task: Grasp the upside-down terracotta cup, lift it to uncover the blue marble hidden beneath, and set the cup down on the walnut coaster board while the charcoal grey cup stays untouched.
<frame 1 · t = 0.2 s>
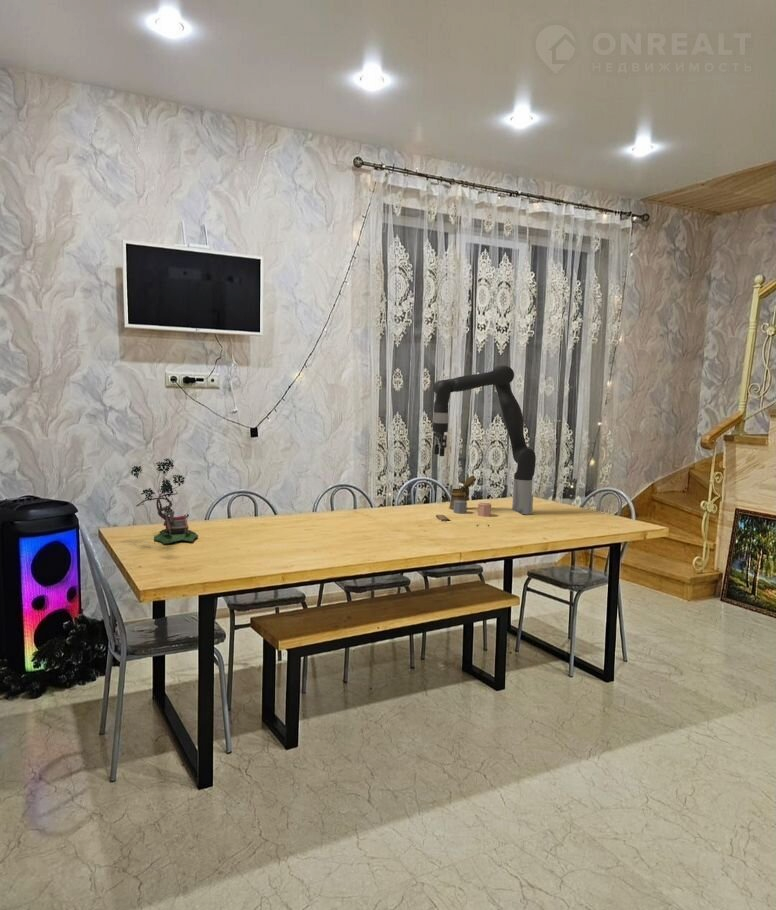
hand: (439, 455, 343), 29 cm above the table, tool pointing down, fingers open, 8 cm apart
charcoal cup: (459, 515, 343), on the table
walnut coaster: (448, 519, 333), on the table
terracotta cup: (484, 518, 338), on the table
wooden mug: (461, 511, 355), on the table
bonsai tree: (168, 542, 269), on the table
blue marble: (484, 515, 338), point 1 cm above the table
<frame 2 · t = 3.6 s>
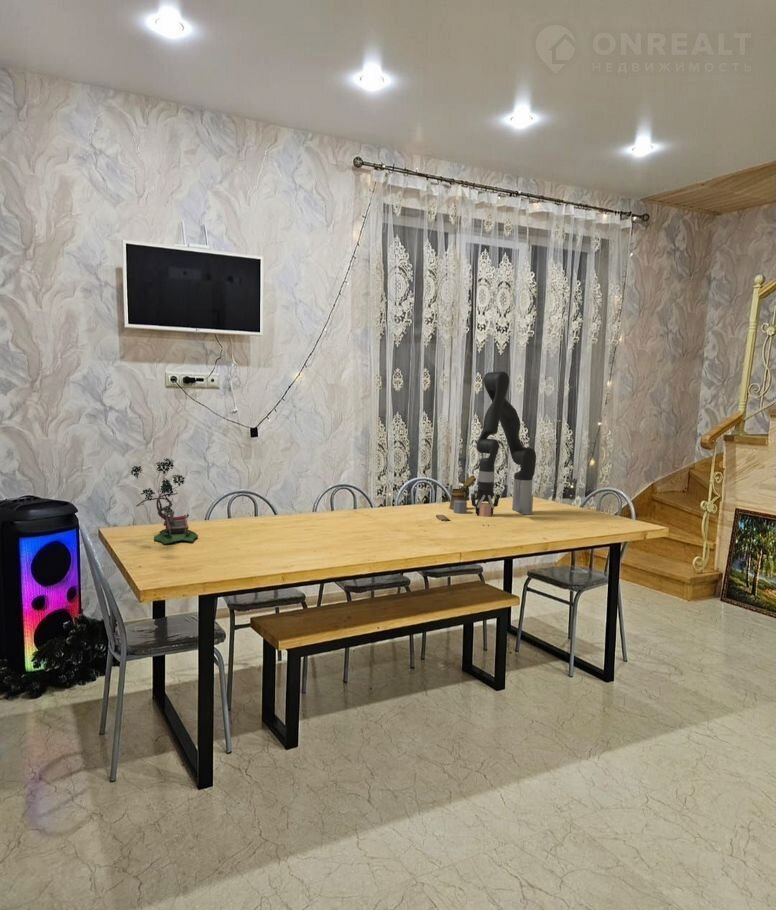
hand: (484, 515, 338), 2 cm above the table, tool pointing down, fingers closed on terracotta cup, 5 cm apart
terracotta cup: (484, 518, 338), on the table, touching gripper
everything else where it was.
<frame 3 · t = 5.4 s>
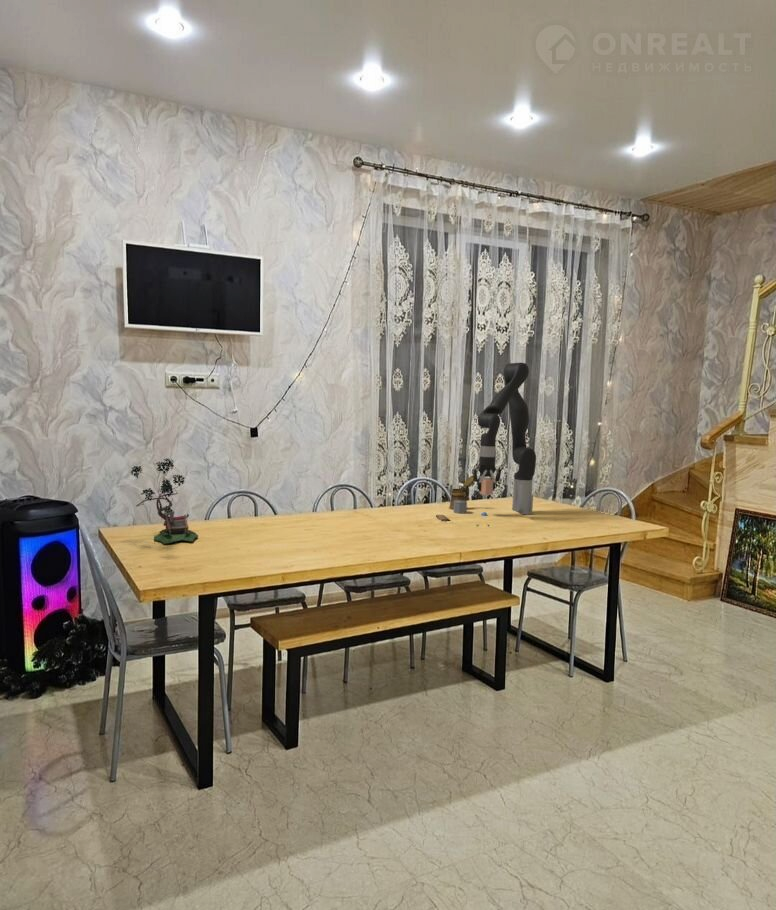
hand: (486, 490, 337), 14 cm above the table, tool pointing down, fingers closed on terracotta cup, 5 cm apart
terracotta cup: (486, 493, 337), point 12 cm above the table, touching gripper
everything else where it was.
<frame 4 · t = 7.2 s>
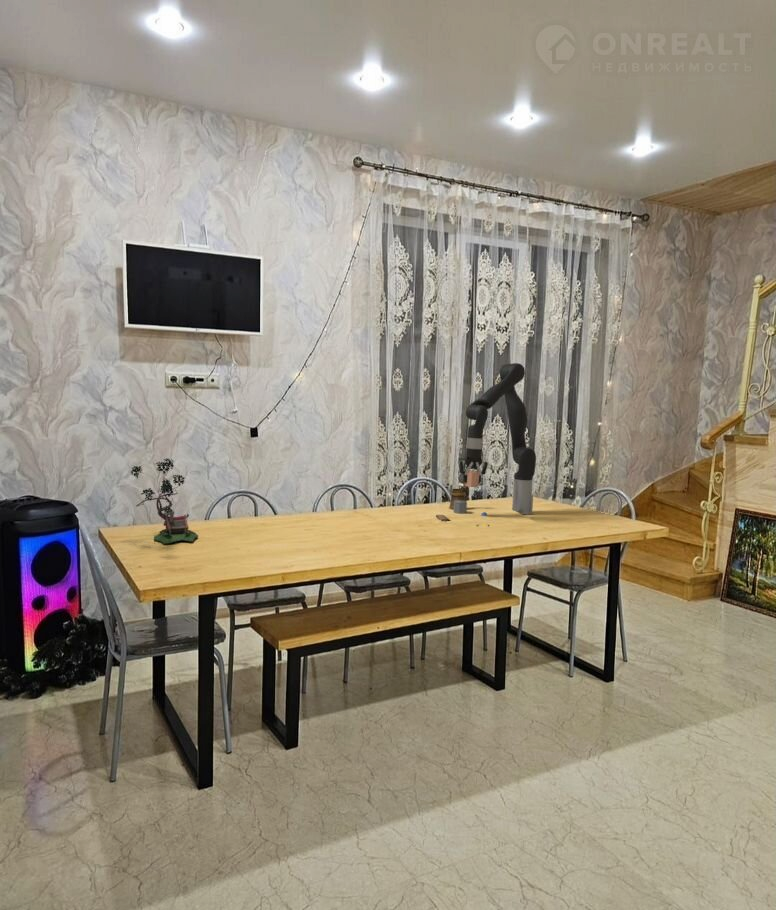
hand: (471, 482, 334), 17 cm above the table, tool pointing down, fingers closed on terracotta cup, 5 cm apart
terracotta cup: (471, 486, 334), point 16 cm above the table, touching gripper
everything else where it was.
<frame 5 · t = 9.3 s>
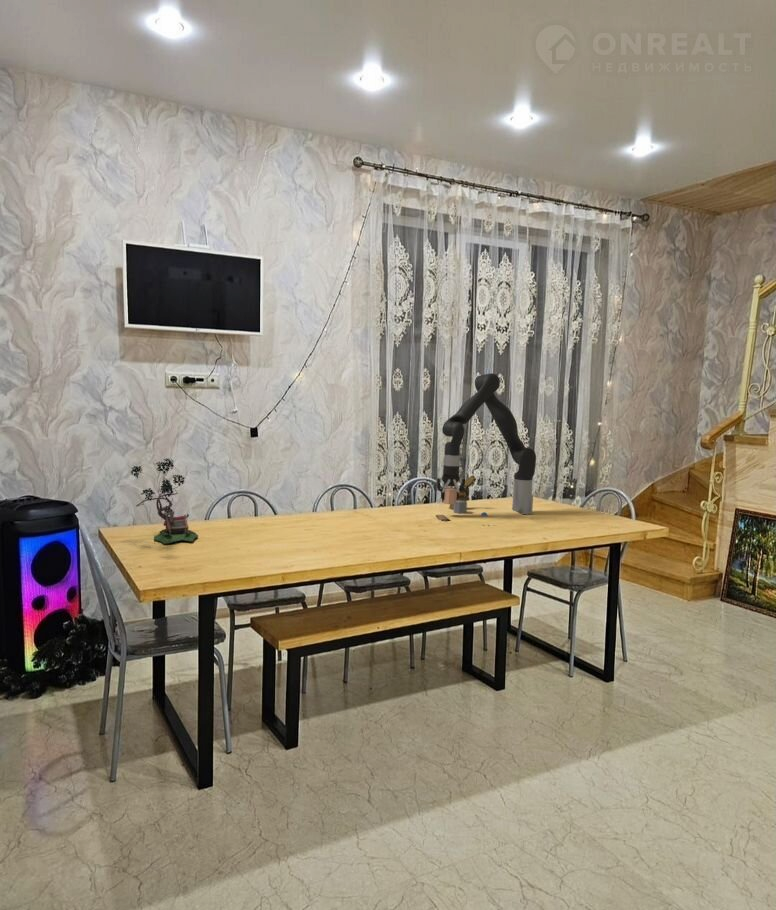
hand: (449, 499, 332), 9 cm above the table, tool pointing down, fingers closed on terracotta cup, 5 cm apart
terracotta cup: (449, 503, 332), point 8 cm above the table, touching gripper
everything else where it was.
when the fingers open (4 cm above the table, at t = 11.1 s): terracotta cup drops 2 cm, resting on walnut coaster.
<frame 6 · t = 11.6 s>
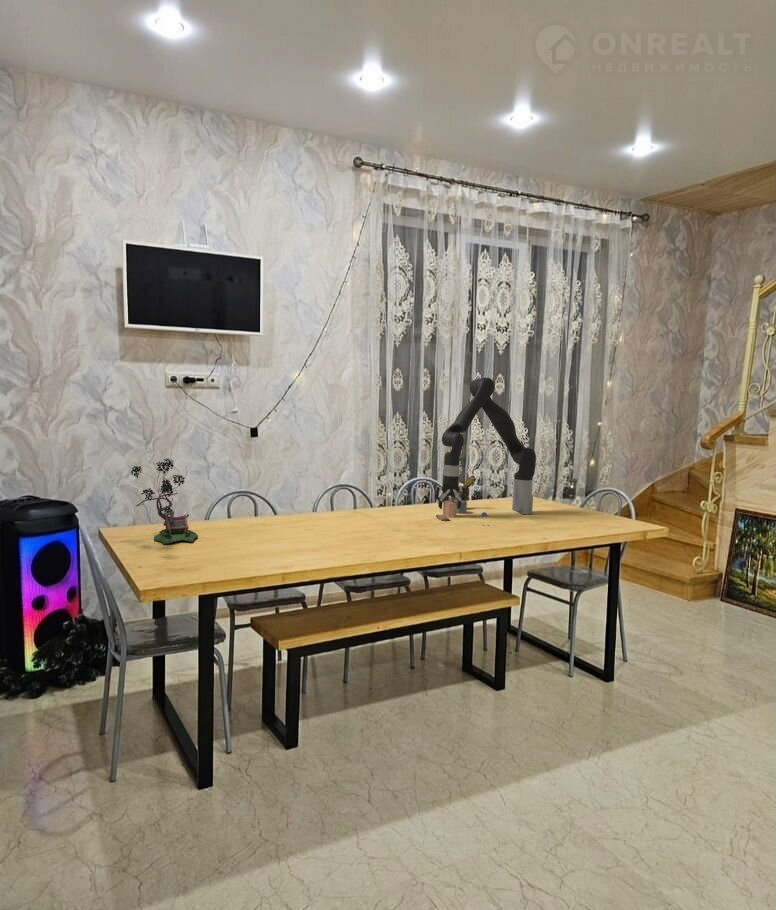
hand: (449, 508, 332), 5 cm above the table, tool pointing down, fingers open, 8 cm apart
terracotta cup: (449, 516, 333), point 1 cm above the table, touching walnut coaster
everything else where it was.
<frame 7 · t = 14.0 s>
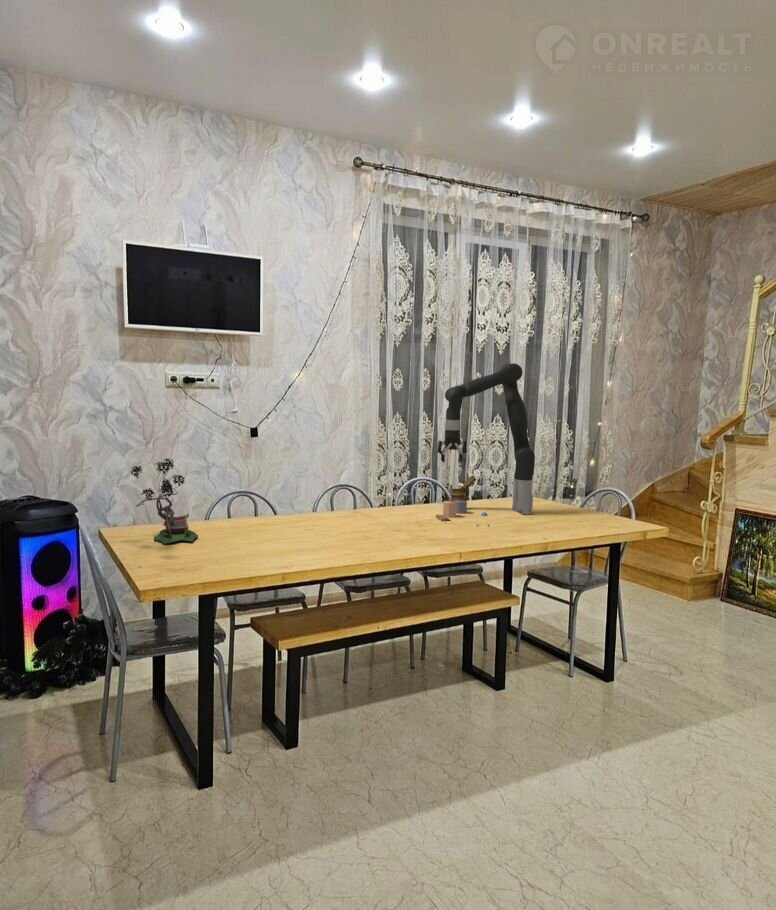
hand: (451, 462, 346), 25 cm above the table, tool pointing down, fingers open, 8 cm apart
nothing on the table moved.
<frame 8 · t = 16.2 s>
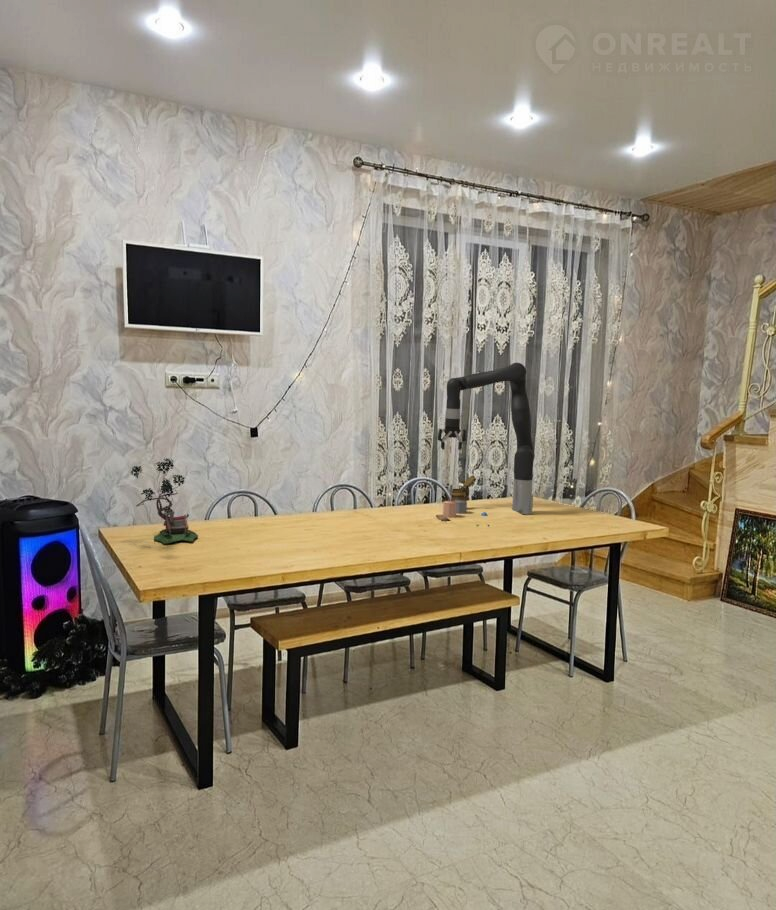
hand: (451, 449, 359), 30 cm above the table, tool pointing down, fingers open, 8 cm apart
nothing on the table moved.
at the end: terracotta cup 0.2 cm off-centre on the walnut coaster, point 1.2 cm above the walnut coaster's base; terracotta cup tilted 0°; the gripper is holding nothing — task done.
